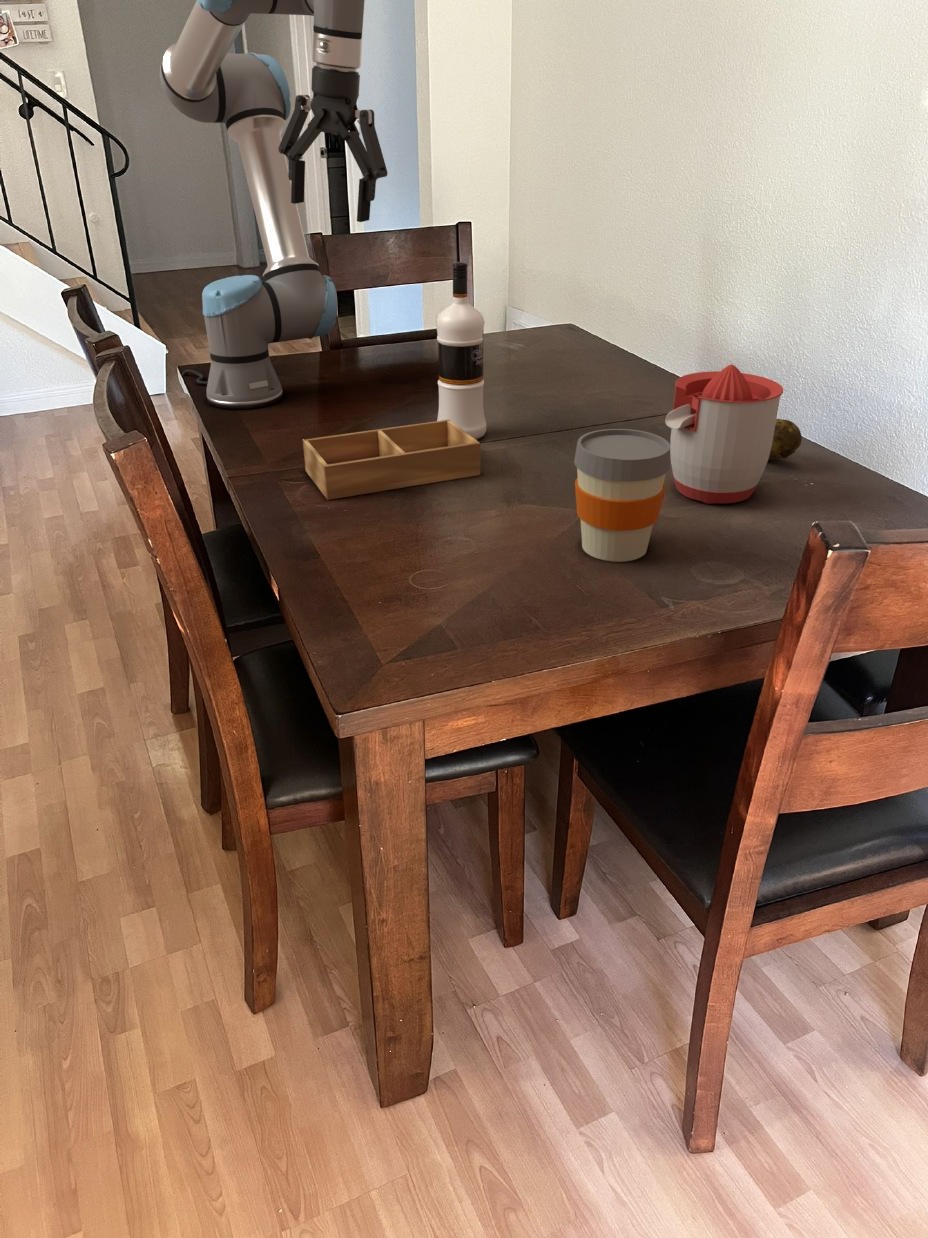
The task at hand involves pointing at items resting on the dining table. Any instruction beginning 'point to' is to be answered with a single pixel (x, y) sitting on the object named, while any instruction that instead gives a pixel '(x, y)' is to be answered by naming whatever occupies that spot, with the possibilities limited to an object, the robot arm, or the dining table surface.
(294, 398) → the dining table surface
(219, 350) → the robot arm
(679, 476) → the citrus juicer
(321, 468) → the wooden divided tray
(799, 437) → the potato
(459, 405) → the vodka
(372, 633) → the dining table surface
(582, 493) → the reusable coffee cup
